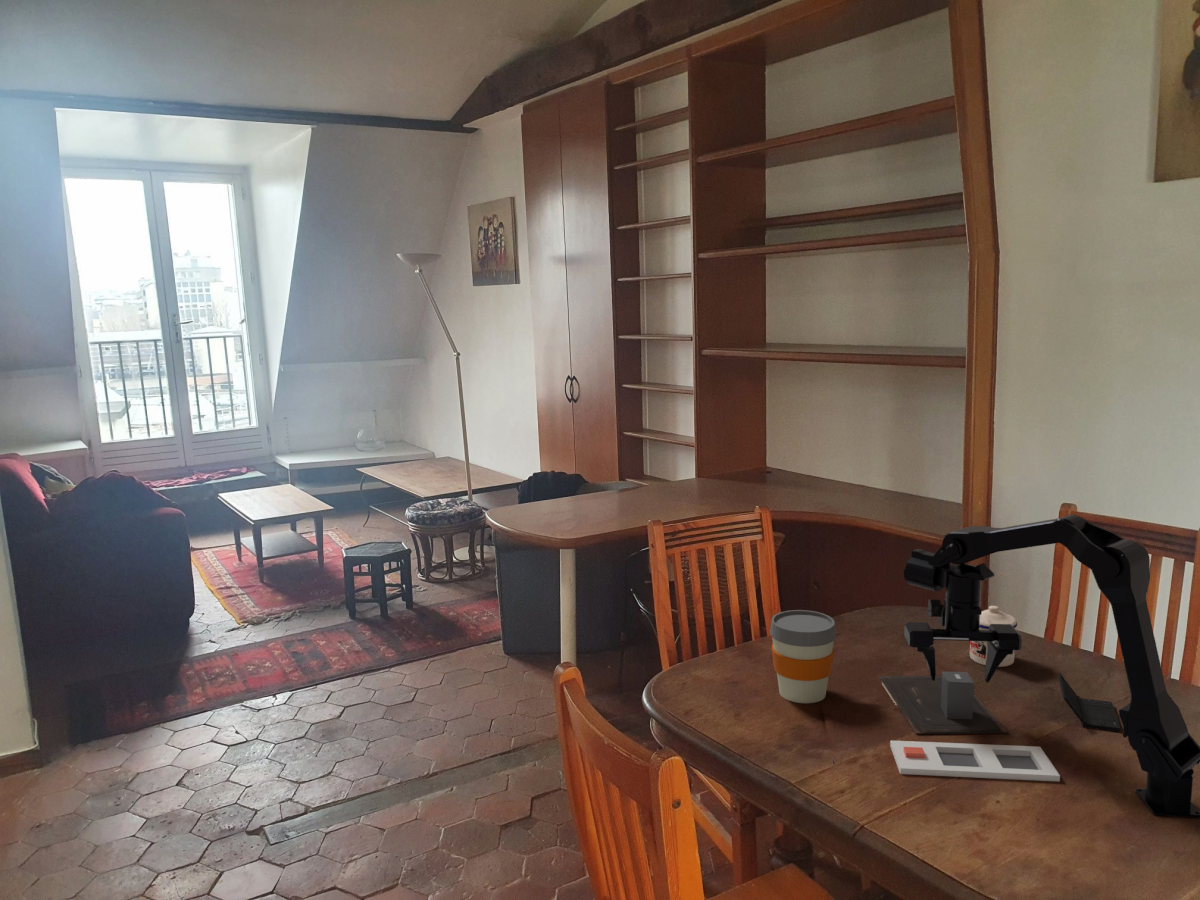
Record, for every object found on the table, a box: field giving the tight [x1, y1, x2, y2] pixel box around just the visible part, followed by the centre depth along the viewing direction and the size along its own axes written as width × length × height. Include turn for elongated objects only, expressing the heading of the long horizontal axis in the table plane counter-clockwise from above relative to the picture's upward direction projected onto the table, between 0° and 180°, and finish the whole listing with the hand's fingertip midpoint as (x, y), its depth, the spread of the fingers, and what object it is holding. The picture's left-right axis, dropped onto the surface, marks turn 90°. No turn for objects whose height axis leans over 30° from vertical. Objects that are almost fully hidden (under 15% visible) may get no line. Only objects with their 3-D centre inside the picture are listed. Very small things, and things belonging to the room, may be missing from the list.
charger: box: [941, 671, 975, 719], centre depth 157 cm, size 4×4×7 cm
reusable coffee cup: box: [769, 609, 837, 704], centre depth 170 cm, size 13×13×15 cm
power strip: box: [832, 740, 1061, 783], centre depth 142 cm, size 9×34×3 cm, turn 81°
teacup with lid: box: [969, 605, 1018, 668], centre depth 181 cm, size 12×9×12 cm
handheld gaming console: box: [1057, 672, 1122, 733], centre depth 158 cm, size 12×7×10 cm
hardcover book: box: [879, 674, 1009, 735], centre depth 162 cm, size 16×23×2 cm
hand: (959, 680), depth 156 cm, fingers open, 9 cm apart
